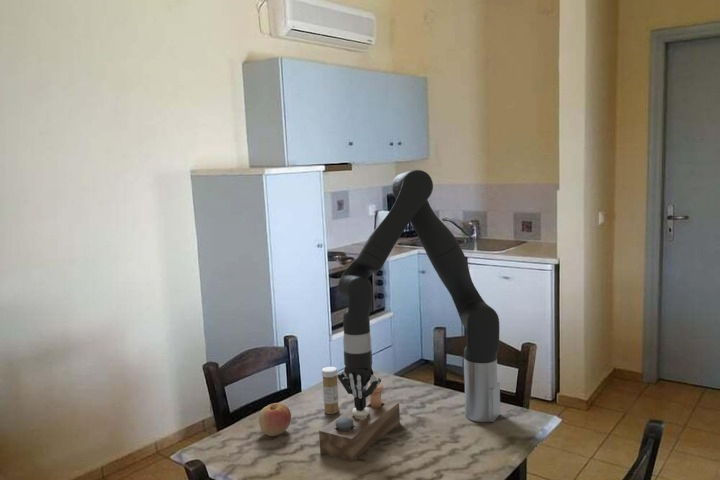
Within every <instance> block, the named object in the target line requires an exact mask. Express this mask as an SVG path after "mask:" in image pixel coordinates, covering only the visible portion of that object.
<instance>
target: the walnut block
mask: <svg viewBox="0 0 720 480" xmlns="http://www.w3.org/2000/svg"><path fill="white" fill-rule="evenodd" d="M381 402H382V407H381V408H379V409H376V408H371V407H370V395H369V396H368V397H366V407H367V408H369V415H367V418H366V419H364V420H360V419H356V418H355V416H353V414H352V410H353V408H355V405H354V406H353V407H352V408H350V409H349V410H347V411H345V412H344V413H343V414H341V415H340V416H338V417H337V418H335V419H334V420H332V421H331V422H330V423H328V424H327V425H325V426H323V428H321V429H319V430H318V435H319V436H318V439H319V453H321V454H324V455H328V456H331V457H334V458H338V459H342V460H345V461H349V462H354V461H355V460H356V459H358V458H359V457H360V456H361V455H362V454H364V453H365V452H366V451H367V450H368V449H370V448H371V447H372V446H373V445H374V444H376V443H377V442H378V441H379V440H381V439H382V438H383V437H384V436H385V435H387V434H388V433H389V432H391V430H393V429H394V428H395V427H396V426H397V425H398V424H400V422H401V419H400V402H398V401H394V400H388V399H383V398H381ZM340 418H351V419H352V420H353V427H351V430H349V431H348V432H343V431H339V428H337V427H336V420H338V419H340Z"/></svg>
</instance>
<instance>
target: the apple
mask: <svg viewBox="0 0 720 480" xmlns="http://www.w3.org/2000/svg"><path fill="white" fill-rule="evenodd" d="M291 420H292V413H291V409H290V408H289V406H287V405H286V404H284V403H282V402H280V403H279V402H274V403H270V404H268V405H267V406H264V407H263V408H262V409H261V411H260V413H259V416H258V425H259V428H260V431H262V432H263V433H264V434H266V435H267V436H269V437H270V436H271V437H276V436H279V435H282V434H283V433H284V432H285V431H287V429H289V427H290V424H291Z"/></svg>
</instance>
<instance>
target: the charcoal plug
mask: <svg viewBox="0 0 720 480" xmlns="http://www.w3.org/2000/svg"><path fill="white" fill-rule="evenodd" d="M336 427H337V428H339V431H343V432H348V431H349V430H351V427H353V420H352V419H351V418H340V419H338V420H336Z"/></svg>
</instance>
